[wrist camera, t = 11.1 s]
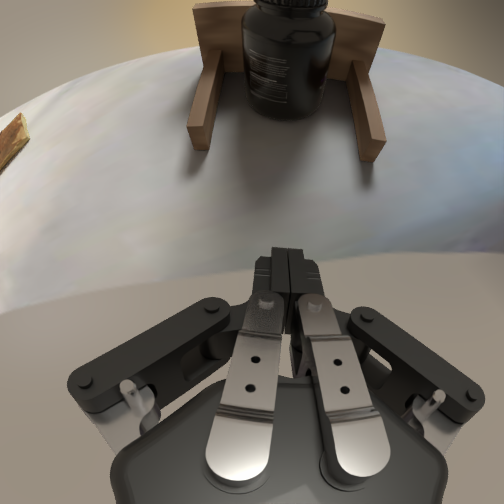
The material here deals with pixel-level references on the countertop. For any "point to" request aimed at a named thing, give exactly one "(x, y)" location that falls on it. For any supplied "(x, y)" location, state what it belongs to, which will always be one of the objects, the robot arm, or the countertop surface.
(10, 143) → the shard
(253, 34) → the supplement bottle
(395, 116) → the countertop surface
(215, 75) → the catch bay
